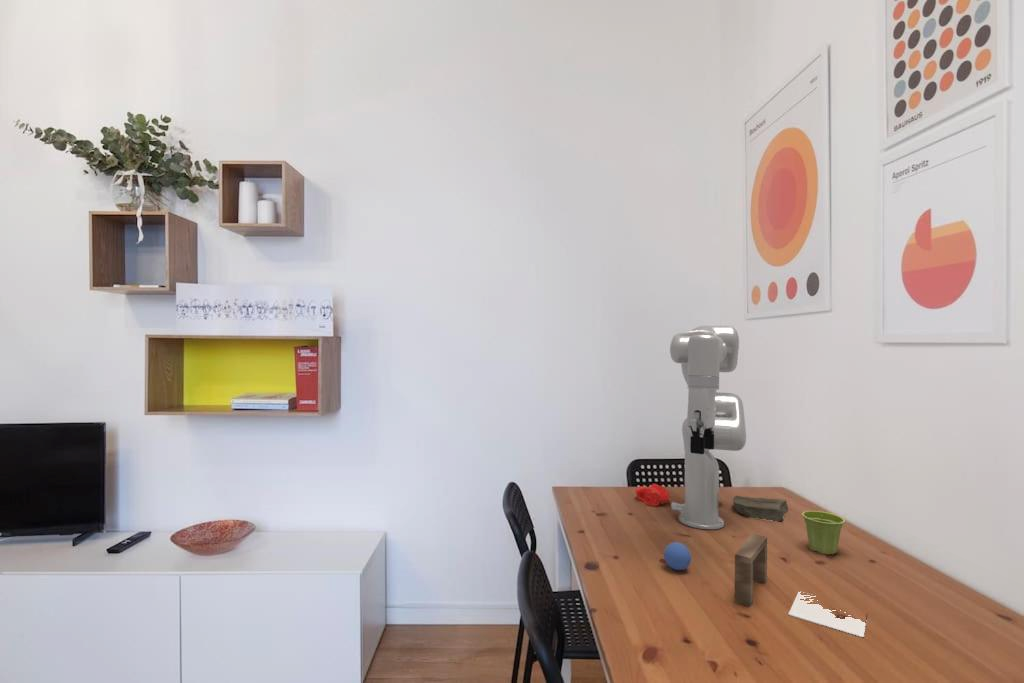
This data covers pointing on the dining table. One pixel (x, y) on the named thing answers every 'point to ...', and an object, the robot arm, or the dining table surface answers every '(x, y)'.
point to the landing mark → (825, 616)
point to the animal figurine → (653, 495)
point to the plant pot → (823, 531)
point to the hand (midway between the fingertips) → (702, 451)
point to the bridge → (750, 568)
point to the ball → (677, 556)
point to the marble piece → (761, 507)
